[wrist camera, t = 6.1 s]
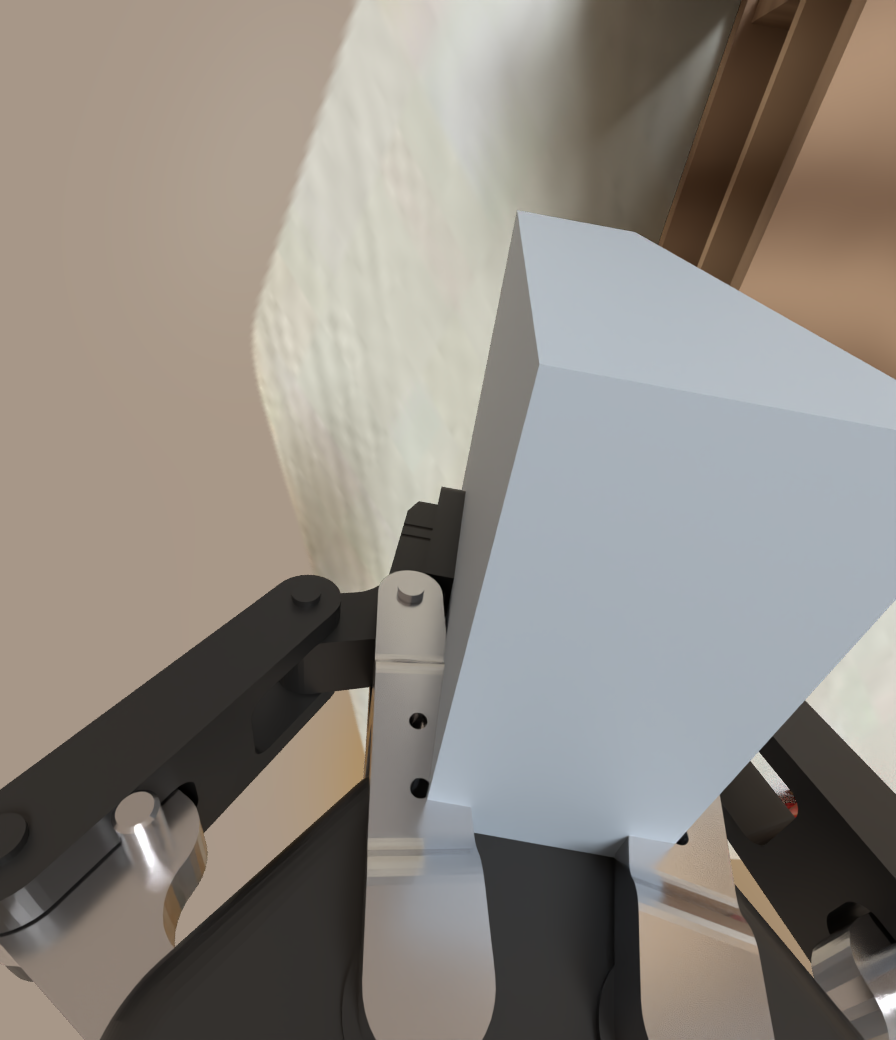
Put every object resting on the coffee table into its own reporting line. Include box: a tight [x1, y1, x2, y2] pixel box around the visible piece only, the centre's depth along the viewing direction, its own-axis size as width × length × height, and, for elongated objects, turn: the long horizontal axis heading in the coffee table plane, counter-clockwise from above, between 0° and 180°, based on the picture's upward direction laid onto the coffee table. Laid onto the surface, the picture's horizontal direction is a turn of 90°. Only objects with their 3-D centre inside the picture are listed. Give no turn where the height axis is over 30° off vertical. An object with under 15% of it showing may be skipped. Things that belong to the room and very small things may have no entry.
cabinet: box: [658, 0, 896, 380], centre depth 22 cm, size 20×20×13 cm
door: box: [426, 210, 896, 858], centre depth 12 cm, size 4×14×12 cm, turn 171°
